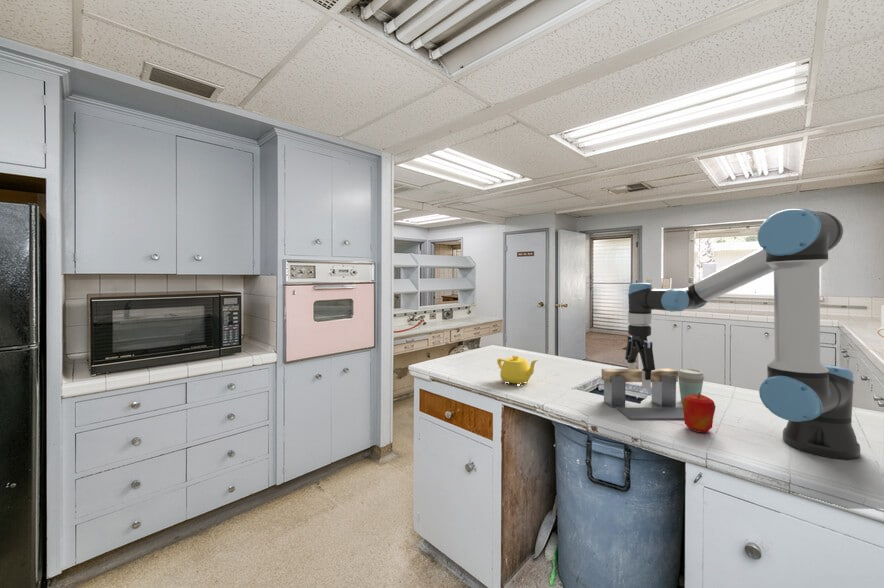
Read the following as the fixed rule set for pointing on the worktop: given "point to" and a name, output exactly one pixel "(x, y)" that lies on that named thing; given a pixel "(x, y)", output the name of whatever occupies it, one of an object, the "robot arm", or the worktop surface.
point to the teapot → (516, 369)
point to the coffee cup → (690, 382)
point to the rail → (638, 374)
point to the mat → (653, 413)
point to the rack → (660, 391)
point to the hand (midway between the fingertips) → (638, 383)
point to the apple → (698, 412)
